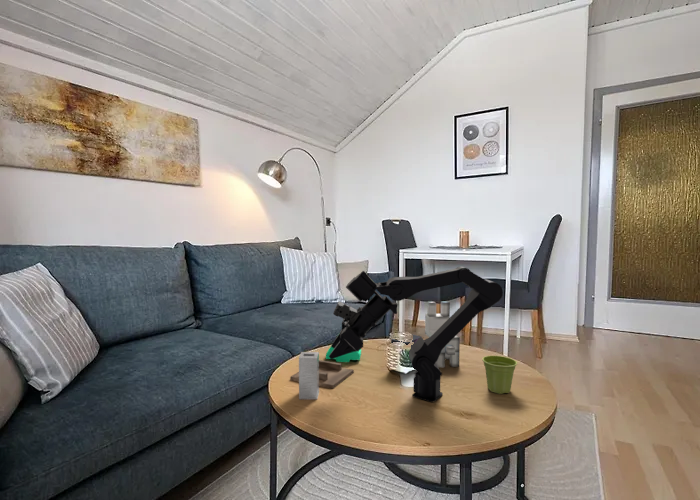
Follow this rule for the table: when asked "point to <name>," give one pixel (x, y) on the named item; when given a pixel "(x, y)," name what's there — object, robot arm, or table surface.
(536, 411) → the table surface
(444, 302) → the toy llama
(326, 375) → the cradle
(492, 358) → the plant pot
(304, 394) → the block
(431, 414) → the table surface
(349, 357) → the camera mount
